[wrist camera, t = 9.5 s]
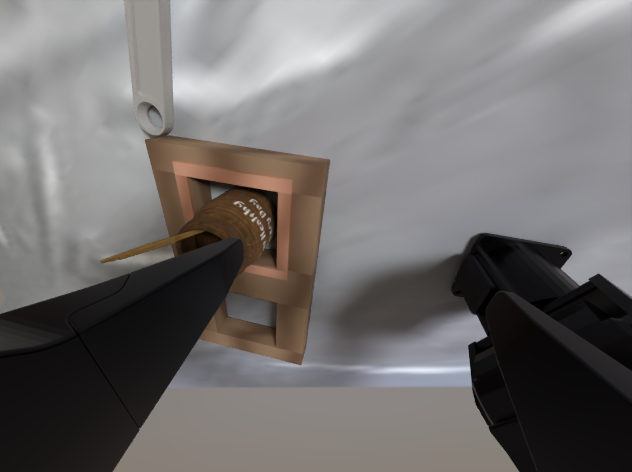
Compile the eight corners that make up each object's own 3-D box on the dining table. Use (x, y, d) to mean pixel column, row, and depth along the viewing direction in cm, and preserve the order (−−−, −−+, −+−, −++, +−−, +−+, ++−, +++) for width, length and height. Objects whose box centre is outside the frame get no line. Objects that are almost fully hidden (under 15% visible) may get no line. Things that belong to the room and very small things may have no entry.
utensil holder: (238, 246, 25) (146, 349, 14) (209, 189, 22) (69, 267, 12) (289, 236, 23) (224, 347, 13) (263, 173, 20) (155, 249, 10)
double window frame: (330, 159, 18) (324, 168, 16) (305, 346, 31) (300, 367, 28) (168, 135, 20) (141, 140, 18) (207, 322, 32) (194, 340, 30)
